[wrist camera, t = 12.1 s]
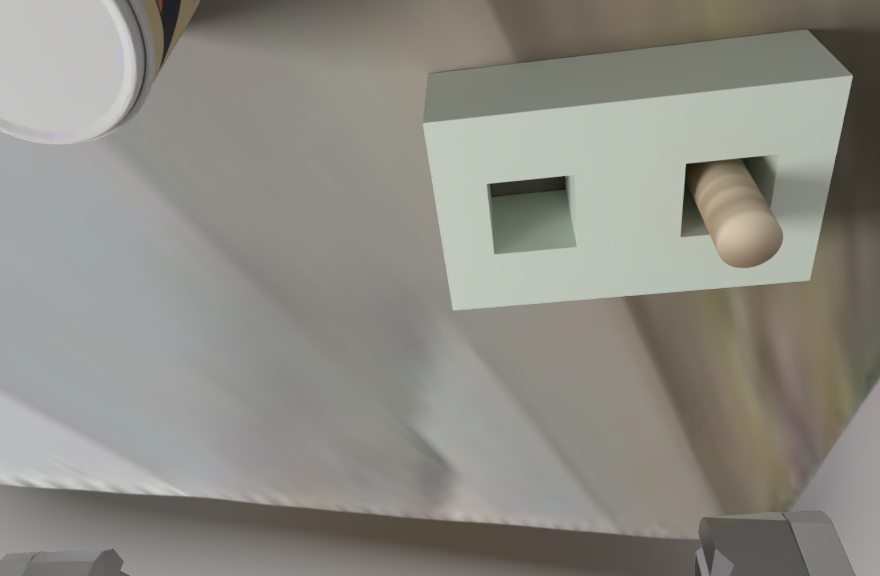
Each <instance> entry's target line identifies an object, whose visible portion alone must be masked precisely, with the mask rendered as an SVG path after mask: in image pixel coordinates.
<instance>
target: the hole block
mask: <svg viewBox="0 0 880 576" xmlns="http://www.w3.org/2000/svg"><path fill="white" fill-rule="evenodd" d="M852 77H853V75H852V74H851V73H850V72H849V71H848V70H847V69H846V68H845V67H844V66H843V65H842V64H841V63H840V62H839V61H838V60H837V59H836V58H835V57H834V56H833V55H832V54H831V53H830V52H829V51H828V50H827V49H826V48H825V47H824V46H823V45H822V44H821V43H820V42H819V41H818V40H817V39H816V38H815V37H814V36H813V35H812V34H811V33H810V32H809V31H808V30H807V29H806V30H797V31H789V32H781V33H772V34H764V35H755V36H747V37H738V38H730V39H721V40H713V41H704V42H696V43H687V44H679V45H670V46H662V47H653V48H645V49H636V50H628V51H619V52H611V53H602V54H594V55H585V56H577V57H568V58H560V59H551V60H543V61H534V62H526V63H517V64H509V65H500V66H492V67H483V68H475V69H466V70H458V71H449V72H441V73H432V74H428V78H427V88H426V97H425V107H424V117H423V127H424V133H425V140H426V146H427V152H428V158H429V165H430V171H431V177H432V183H433V189H434V196H435V202H436V208H437V214H438V220H439V227H440V233H441V239H442V245H443V251H444V258H445V264H446V270H447V276H448V282H449V289H450V295H451V301H452V307H453V311H454V310H465V309H477V308H489V307H501V306H513V305H525V304H537V303H549V302H560V301H572V300H584V299H596V298H608V297H620V296H632V295H644V294H655V293H667V292H679V291H691V290H703V289H715V288H727V287H739V286H750V285H762V284H774V283H786V282H798V281H810V276H811V272H812V267H813V262H814V258H815V253H816V248H817V243H818V239H819V234H820V229H821V224H822V220H823V215H824V210H825V205H826V201H827V196H828V191H829V186H830V182H831V177H832V172H833V167H834V163H835V158H836V153H837V149H838V144H839V139H840V134H841V130H842V125H843V120H844V115H845V111H846V106H847V101H848V96H849V92H850V87H851V82H852ZM737 158H741V159H742V161H743V163H744V165H745V166H746V168H747V170H748V172H749V173H750V175H751V177H752V178H753V180H754V182H755V184H756V185H757V187H758V189H759V190H760V192H761V194H762V196H763V197H764V199H765V201H766V202H767V204H768V206H769V208H770V209H771V211H772V213H773V215H774V216H775V218H776V220H777V221H778V223H779V225H780V227H781V229H782V231H783V242H782V245H781V247H780V249H779V250H778V252H777V253H776V254H775V255H774V256H773V257H772V258H771V259H769V260H768V261H766V262H765V263H763V264H760V265H758V266H755V267H750V268H736V267H732V266H730V265H728V264H726V263H725V262H724V261H722V259H721V258H720V256H719V254H718V252H717V250H716V247H715V245H714V243H713V241H712V238H711V236H710V234H709V232H708V229H707V227H706V225H705V223H704V220H703V218H702V216H701V214H700V211H699V209H698V207H697V205H696V202H695V200H694V198H693V196H692V193H691V191H690V189H689V187H688V184H687V182H686V180H685V169H686V164H688V163H698V162H707V161H717V160H727V159H737ZM560 176H565V184H566V190H557V191H547V192H537V193H527V194H517V195H507V196H497V197H492V196H491V187H490V184H491V183H500V182H510V181H520V180H530V179H540V178H550V177H560Z"/></svg>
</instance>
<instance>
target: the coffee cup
mask: <svg viewBox="0 0 880 576" xmlns="http://www.w3.org/2000/svg"><path fill="white" fill-rule="evenodd" d="M199 2H200V0H0V131H2V132H4V133H6V134H9V135H12V136H14V137H17V138H20V139H24V140H27V141H32V142H36V143H43V144H54V145H65V144H75V143H84V142H90V141H94V140H97V139H100V138H103V137H106V136H108V135H110V134H112V133H114V132H115V131H117V130H119V129H120V128H122V127H123V126H124V125H125V124H127V123H128V122H129V121H130V120H131V119H132V118H133V117H134V116H135V115H136V114H137V113H138V112H139V110H140V108H141V107H142V105H143V104H144V102H145V100H146V98H147V96H148V94H149V92H150V89H151V86H152V84H153V82H154V80H155V79H156V77H157V75H158V74H159V72H160V70H161V69H162V67H163V65H164V64H165V62H166V60H167V59H168V57H169V55H170V54H171V52H172V50H173V49H174V47H175V45H176V44H177V42H178V40H179V38H180V37H181V35H182V33H183V32H184V30H185V28H186V26H187V25H188V23H189V21H190V19H191V18H192V16H193V14H194V12H195V11H196V9H197V7H198V4H199Z"/></svg>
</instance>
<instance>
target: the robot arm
mask: <svg viewBox="0 0 880 576" xmlns="http://www.w3.org/2000/svg"><path fill="white" fill-rule="evenodd" d="M698 533H699V537H700V541H701V544H702V547H701V548H700V549H699V550H698V551H696V555H695V566H694V567H695V576H856V575H855V573H854V571H853V569H852V566H851V564H850V562H849V560H848V557H847V555H846V553H845V550H844V548H843V546H842V544H841V541H840V539H839V537H838V535H837V532H836V530H835V528H834V525H833V523H832V521H831V519H830V518H829V517H828V516H827V515H826V514H825V513H824V512H822V511H819V510H818V511H817V510H816V511H801V512H786V513H779V512H771V513H757V514H743V515H728V516H714V517H703V518H702V519H701V521H700V525H699V531H698ZM122 564H123V560H122V559H121V558H120V557H119V555H118V554H117V553H116V552H115V550H114V549H102V550H83V551H82V550H81V551H61V552H29V553H15V554H6V555H5V556H4V557H3V558H2V559H1V560H0V576H129V575H127V574H125V573H123V572H122V571H120V570H121V567H122Z"/></svg>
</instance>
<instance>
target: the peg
mask: <svg viewBox="0 0 880 576" xmlns="http://www.w3.org/2000/svg"><path fill="white" fill-rule="evenodd" d="M685 180H686V182H687V184H688V187H689V189H690V191H691V193H692V196H693V198H694V200H695V202H696V205H697V207H698V209H699V211H700V214H701V216H702V218H703V220H704V223H705V225H706V227H707V229H708V232H709V234H710V236H711V238H712V241H713V243H714V245H715V247H716V250H717V252H718V254H719V256H720V258H721V259H722V261H724V262H725V263H726V264H728V265H730V266H732V267H736V268H750V267H755V266H758V265H760V264H763V263H765V262H766V261H768V260H769V259H771V258H772V257H773V256H774V255H775V254H776V253H777V252H778V250H779V249H780V247H781V245H782V242H783V231H782V229H781V227H780V225H779V223H778V221H777V220H776V218H775V216H774V215H773V213H772V211H771V209H770V208H769V206H768V204H767V202H766V201H765V199H764V197H763V196H762V194H761V192H760V190H759V189H758V187H757V185H756V184H755V182H754V180H753V178H752V177H751V175H750V173H749V172H748V170H747V168H746V166H745V165H744V163H743V161H742V159H741V158H737V159H727V160H717V161H707V162H698V163H688V164H686V169H685Z"/></svg>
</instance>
